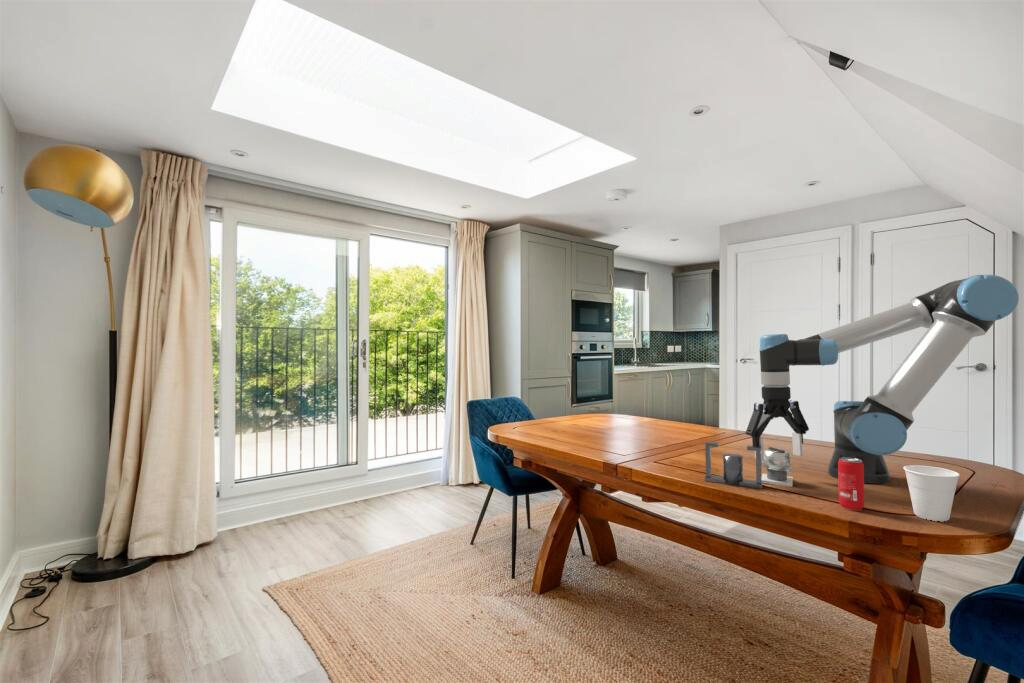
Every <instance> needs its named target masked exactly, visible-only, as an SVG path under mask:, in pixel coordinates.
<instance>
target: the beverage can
mask: <svg viewBox="0 0 1024 683" xmlns="http://www.w3.org/2000/svg"><path fill="white" fill-rule="evenodd" d="M837 480H838V482H837V484H838V489H837V490H838V503H839V505H840V507H841V508H843V509H845V510H849V511H855V512H859V511H862V510H863V508H864V507H865V483H864V464H863V463H862V460H860V459H856V458H849V457H841V458H839V461H838V478H837Z"/></svg>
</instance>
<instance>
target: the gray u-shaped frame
mask: <svg viewBox="0 0 1024 683" xmlns="http://www.w3.org/2000/svg"><path fill="white" fill-rule="evenodd" d="M704 445H705V447H704V448H705V450H704V451H705V476H704V481H705V482H712V483H717V484H718V483H719V484H725V485H728V486H736V487H737V486H741V487H748V488H758V489H763V485H764V483H763V482H762V474H763V473H762V460H761V447H760V446H753V445H747V446H746V450H747V451H752V452H753V451H754V452H755V451H756V458H755V471H756V472H755V473H756V474H755V475H756V477H755V480H753V479H745V478H744V472H743V471H744V467H743V466H744V462H743V458H744V457H743V455H741V454H737V453H725V454H722V459H723V460H722V464H723V469H722V471H723V472H722V473H723V476H722V475H713V474H712V448H718V447H719V446H720V444H719V442H714V441H705V444H704Z"/></svg>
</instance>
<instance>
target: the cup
mask: <svg viewBox="0 0 1024 683" xmlns="http://www.w3.org/2000/svg"><path fill="white" fill-rule="evenodd" d="M902 469H903V470H904V472H905V476H906V481H907V485H908V490H909V495H910V500H911V505H912V509H913V513H914V514H915V516H917V517H918V518H920V519H922V520H926V519H927V521H930V520H932V521H931V522H937V521H940V523H944V521H945V522H947V521H949V520H950V518H951V513H952V507H953V504H954V499H955V498H954V497H955V493H956V489H957V485H958V480H959V477H960V476H961V474H960V473H959V472H956V471H955V470H951V469H947V468H943V467H936V466H929V465H922V464H921V465H920V464H919V465H918V464H910V465H904V466H903V467H902Z"/></svg>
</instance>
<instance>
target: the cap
mask: <svg viewBox="0 0 1024 683" xmlns="http://www.w3.org/2000/svg"><path fill="white" fill-rule="evenodd" d="M763 452H764V460H761V465H763V467H764V468H765V469H766V470H767V469H771V470H777V471H786V472H787V473H789V474H790V473H794V468H793V467H791V451H789V450H787V449H782V448H776V447H773V446H768V448H763Z"/></svg>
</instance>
